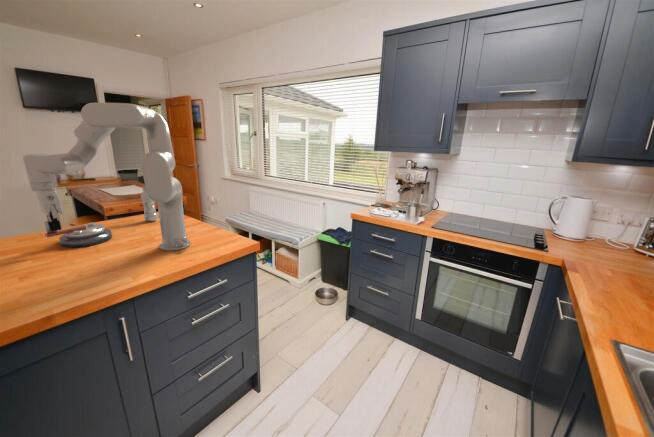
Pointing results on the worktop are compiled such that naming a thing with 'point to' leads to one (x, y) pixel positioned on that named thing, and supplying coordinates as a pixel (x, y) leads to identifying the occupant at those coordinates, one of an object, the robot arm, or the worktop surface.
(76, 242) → the gray plate
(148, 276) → the worktop surface
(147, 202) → the plastic bottle
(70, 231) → the crank handle wheel
